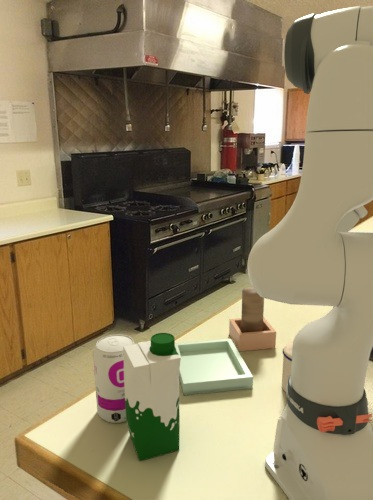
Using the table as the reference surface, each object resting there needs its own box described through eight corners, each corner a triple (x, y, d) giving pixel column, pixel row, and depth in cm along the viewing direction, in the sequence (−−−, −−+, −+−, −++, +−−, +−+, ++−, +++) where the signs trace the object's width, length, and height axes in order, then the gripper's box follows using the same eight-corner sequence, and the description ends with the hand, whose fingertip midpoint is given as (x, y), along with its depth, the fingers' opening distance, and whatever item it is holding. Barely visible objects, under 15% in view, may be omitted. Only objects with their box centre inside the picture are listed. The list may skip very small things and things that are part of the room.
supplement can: (146, 416, 83) (143, 346, 79) (105, 430, 79) (100, 357, 75) (130, 394, 89) (127, 329, 86) (92, 407, 85) (87, 339, 82)
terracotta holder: (275, 348, 109) (276, 331, 107) (239, 351, 107) (239, 335, 106) (262, 331, 118) (263, 316, 117) (229, 334, 116) (229, 319, 115)
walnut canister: (265, 345, 110) (267, 294, 106) (244, 346, 109) (245, 295, 106) (258, 335, 115) (260, 286, 112) (238, 337, 115) (239, 288, 111)
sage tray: (252, 388, 91) (253, 376, 91) (183, 395, 89) (183, 383, 88) (230, 348, 108) (230, 338, 108) (172, 353, 106) (172, 343, 105)
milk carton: (186, 452, 73) (185, 347, 68) (134, 467, 70) (129, 357, 65) (169, 421, 81) (167, 325, 76) (122, 433, 78) (117, 333, 73)
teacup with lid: (314, 407, 85) (318, 354, 82) (273, 391, 90) (275, 341, 87) (335, 380, 94) (340, 332, 91) (296, 367, 99) (300, 321, 96)
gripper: (315, 185, 115) (278, 222, 116) (356, 196, 96) (312, 240, 97) (329, 201, 117) (293, 237, 118) (372, 214, 98) (329, 258, 99)
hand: (302, 238), depth 107 cm, fingers open, 8 cm apart
